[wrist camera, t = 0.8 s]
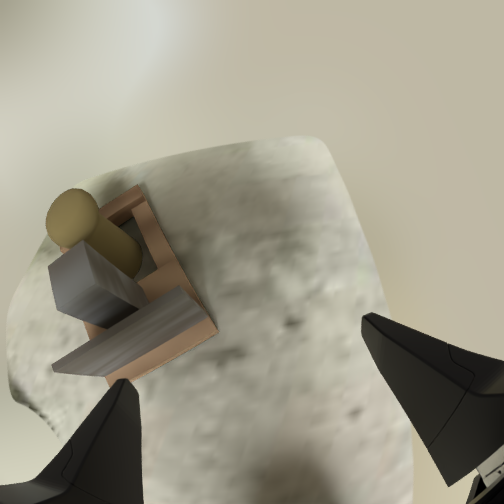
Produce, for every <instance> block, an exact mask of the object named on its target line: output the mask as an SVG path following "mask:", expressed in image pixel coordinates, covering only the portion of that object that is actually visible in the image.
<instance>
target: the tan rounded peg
mask: <svg viewBox="0 0 504 504" xmlns="http://www.w3.org/2000/svg"><path fill="white" fill-rule="evenodd" d="M46 229H47V232H48V235H49V237H50V238H51V239H52V240H53V241H54V242H55V243H56V244H57V245H58V246H60V247H64V248H67V249H71V248H72V247H74V246H75V245H76V244H78V243H79V242H81V241H82V240H84V241H85V242H86V243H87V244H88V245H90V246H91V247H92V248H93V249H94V250H96V251H97V252H98V253H99V254H100V255H102V256H103V257H104V258H105V259H106V260H108V261H109V262H110V263H111V264H113V265H114V266H115V267H116V268H118V269H119V270H120V271H121V272H123V273H124V274H125V275H127V276H128V277H129V278H131V279H133V278H134V277H135V275H136V274H137V272H138V271H139V269H140V266H141V263H142V250H141V246H140V245H139V243H138V242H137V241H136V240H135V239H133V238H132V237H131V236H129V235H128V234H127V233H125V232H124V231H122V230H121V229H120V228H118V227H117V226H116V225H114V224H113V223H112V222H110V221H109V220H108V219H106V218H105V217H104V216H103V215H101V214H100V213H99V208H98V206H97V203H96V201H95V200H94V198H93V197H92V195H91V194H89V193H88V192H86V191H84V190H83V189H74V188H73V189H70V190H67V191H65V192H64V193H62V194H61V195H60V196H59V197H58V198H56V200H55V201H54V202H53V203H52V205H51V207H50V209H49V211H48V213H47V217H46Z"/></svg>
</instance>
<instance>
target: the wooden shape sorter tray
mask: <svg viewBox="0 0 504 504" xmlns="http://www.w3.org/2000/svg"><path fill="white" fill-rule="evenodd" d="M99 213H100V214H101V215H103V216H104V217H105V218H106V219H108V220H109V221H110V222H112V223H113V224H114V225H116V226H117V227H118V226H119V225H121V224H122V223H124V222H125V221H127V220H129V219H130V218H132V217H133V216H134V217H135V220H136V222H137V224H138V227H139V229H140V231H141V234H142V236H143V238H144V240H145V242H146V245H147V247H148V249H149V251H150V253H151V255H152V257H153V260H154V262H155V264H156V266H157V268H158V269H157V270H156V271H154V272H153V273H151V274H149V275H148V276H146V277H145V278H143V279H141V280H140V281H138V282H137V283H136V282H134V281H133V280H132V279H131V278H129V277H128V276H127V275H125V274H124V273H123V272H121V271H120V270H119V269H118V268H116V267H115V266H114V265H113V264H111V263H110V262H109V261H108V260H106V259H105V258H104V257H103V256H102V255H100V254H99V253H98V252H97V251H96V250H94V249H93V248H92V247H91V246H90V245H88V244H87V243H86V242H85V241H84V240H82V241H81V242H79V243H78V244H76V245H75V246H74V247H72V248H71V249H67V248H64V247H60V250H61V252H62V253H63V255H62V256H61V257H59V258H58V259H57V260H55V261H54V262H53V263H52V264H50V265H49V266H48V270H49V275H50V281H51V286H52V290H53V295H54V299H55V303H56V308H57V310H58V311H60V312H62V313H65V314H67V315H70V316H72V317H75V318H77V319H80V320H83V322H84V325H85V328H86V330H87V333H88V336H89V339H90V341H88V342H87V343H85V344H83V345H82V346H80V347H79V348H77V349H75V350H74V351H72V352H71V353H69V354H67V355H66V356H64V357H63V358H61V359H60V360H58V361H56V362H55V363H53V364H52V368H53V371H54V372H57V373H66V374H75V375H87V376H101V377H105V378H106V380H107V382H108V385H109V387H111V386H112V385H113V384H114V383H115V381H116V380H117V379H122V378H127V379H128V380H129V381H130V382H133V381H135V380H136V379H138V378H140V377H142V376H144V375H146V374H148V373H149V372H151V371H153V370H155V369H157V368H158V367H160V366H162V365H164V364H166V363H167V362H169V361H171V360H173V359H174V358H176V357H178V356H180V355H181V354H183V353H185V352H187V351H188V350H190V349H192V348H193V347H195V346H197V345H199V344H200V343H202V342H204V341H205V340H207V339H209V338H210V337H212V336H214V335H215V334H217V333H219V331H218V329H217V328H216V326H215V324H214V323H213V321H212V320H211V318H210V316H209V315H208V313H207V311H206V310H205V308H204V306H203V304H202V303H201V301H200V299H199V298H198V296H197V294H196V292H195V291H194V289H193V287H192V285H191V284H190V282H189V280H188V278H187V276H186V275H185V273H184V271H183V269H182V267H181V266H180V264H179V262H178V260H177V258H176V256H175V255H174V253H173V251H172V249H171V247H170V245H169V243H168V241H167V239H166V237H165V236H164V234H163V232H162V230H161V228H160V226H159V224H158V222H157V220H156V218H155V216H154V214H153V212H152V210H151V208H150V206H149V204H148V202H147V200H146V197H145V195H144V194H143V192H142V191H141V189H140V187H139V186H138V184H137V185H136V186H134V187H133V188H131V189H129V190H128V191H126V192H125V193H123V194H121V195H120V196H118V197H117V198H115V199H114V200H112V201H111V202H109V203H108V204H106V205H105V206H103V207H102V208H100V209H99Z"/></svg>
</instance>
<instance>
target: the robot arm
mask: <svg viewBox="0 0 504 504" xmlns="http://www.w3.org/2000/svg"><path fill="white" fill-rule="evenodd" d="M361 334H362V337H363V339H364V341H365V343H366V345H367V347H368V349H369V351H370V353H371V356H372V358H373V360H374V362H375V364H376V366H377V368H378V369H379V371H380V373H381V374H382V376H383V377H384V379H385V381H386V382H387V384H388V385H389V387H390V388H391V390H392V392H393V393H394V395H395V396H396V398H397V400H398V401H399V403H400V404H401V406H402V408H403V409H404V411H405V413H406V414H407V416H408V418H409V419H410V421H411V423H412V424H413V426H414V428H415V429H416V431H417V433H418V434H419V436H420V438H421V439H422V441H423V443H424V445H425V446H426V448H428V452H429V453H430V455H431V457H432V459H433V460H434V462H435V464H436V466H437V468H438V469H439V471H440V473H441V475H442V477H443V479H444V480H445V482H446V484H447V486H448V487H450V486H451V485H453V484H454V483H456V482H457V481H459V480H460V479H462V478H463V477H464V476H466V475H467V474H469V473H470V472H471V471H472V470H474V469H475V468H476V469H477V471H478V472H479V474H478V475H477V476H476V477H475V478H474V480H473V484H472V487H471V490H470V493H469V496H468V499H467V502H466V504H504V361H502V360H498V359H495V358H491V357H487V356H484V355H480V354H477V353H474V352H470V351H467V350H465V349H462V348H459V347H456V346H454V345H451V344H447V343H446V342H444V341H441V340H439V339H436V338H434V337H431V336H429V335H427V334H424V333H422V332H419V331H417V330H414V329H412V328H410V327H407V326H405V325H402V324H400V323H397V322H395V321H392V320H390V319H388V318H385V317H383V316H380V315H378V314H376V313H373V312H371V313H368V314H366V315H363V316H362V324H361ZM141 437H142V432H141V417H140V404H139V394H138V391H137V390H136V389H135V387H134V386H133V385H132V383H131V382H130V381H129V380H128V379H127V378H122V379H117V380H116V381H115V383H114V384H113V385H112V386H111V387H110V389H109V390H108V391H107V392H106V394H105V395H104V396H103V397H102V399H101V400H100V401H99V402H98V404H97V405H96V406H95V407H94V409H93V410H92V411H91V412H90V414H89V415H88V416H87V417H86V419H85V420H84V421H83V422H82V424H81V425H80V426H79V428H78V429H77V430H76V431H75V433H74V434H73V435H72V437H71V438H70V439H69V440H68V442H67V443H66V444H65V445H64V447H63V448H62V449H61V450H60V452H59V453H58V454H57V455H56V456H55V457H54V459H53V460H52V461H51V462H50V463H49V464H48V465H47V466H46V467H45V468H44V469H43V470H42V472H41V473H40V474H39V475H38V476H37V477H36V478H34V479H32V480H30V481H28V482H23V483H16V484H9V485H0V504H144V500H143V485H142V453H141Z"/></svg>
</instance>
